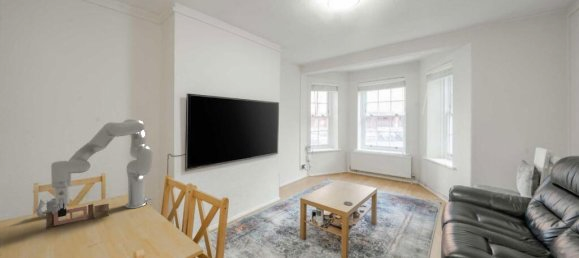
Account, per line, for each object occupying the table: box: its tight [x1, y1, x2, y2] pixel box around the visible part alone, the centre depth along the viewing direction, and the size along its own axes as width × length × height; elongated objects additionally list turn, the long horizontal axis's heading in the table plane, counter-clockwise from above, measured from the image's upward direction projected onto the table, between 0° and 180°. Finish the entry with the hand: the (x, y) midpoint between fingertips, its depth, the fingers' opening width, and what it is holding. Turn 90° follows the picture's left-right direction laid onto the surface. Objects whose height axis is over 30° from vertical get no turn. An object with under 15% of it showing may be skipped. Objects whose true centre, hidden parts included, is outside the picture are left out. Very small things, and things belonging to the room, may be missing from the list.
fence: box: [45, 203, 110, 230], centre depth 131 cm, size 26×4×8 cm, turn 133°
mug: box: [35, 197, 58, 218], centre depth 135 cm, size 8×12×12 cm, turn 162°
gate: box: [53, 205, 88, 227], centre depth 129 cm, size 14×2×7 cm, turn 132°
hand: (62, 216), depth 124 cm, fingers closed
